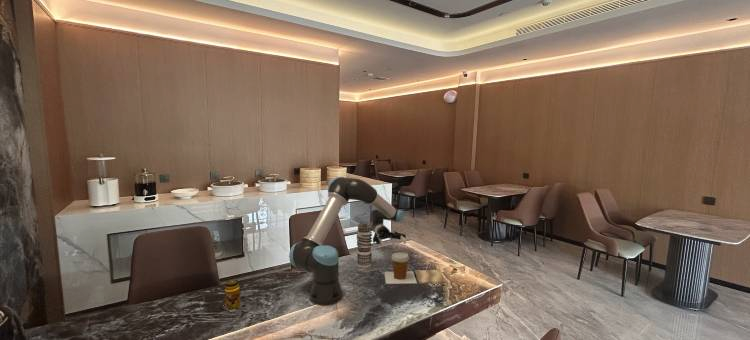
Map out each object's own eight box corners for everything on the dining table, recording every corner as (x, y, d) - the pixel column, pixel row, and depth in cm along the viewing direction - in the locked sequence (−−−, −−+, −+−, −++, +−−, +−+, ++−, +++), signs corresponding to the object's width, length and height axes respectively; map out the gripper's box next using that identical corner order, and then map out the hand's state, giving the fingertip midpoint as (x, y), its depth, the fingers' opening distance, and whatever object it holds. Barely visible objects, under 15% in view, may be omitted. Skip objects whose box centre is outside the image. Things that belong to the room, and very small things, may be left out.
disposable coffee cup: (388, 274, 172) (388, 253, 171) (404, 272, 175) (404, 251, 173) (394, 282, 163) (395, 259, 162) (411, 279, 166) (412, 257, 164)
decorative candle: (375, 263, 188) (375, 222, 185) (366, 269, 180) (366, 226, 177) (362, 260, 192) (362, 220, 190) (353, 265, 185) (353, 224, 182)
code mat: (386, 284, 162) (386, 283, 162) (384, 272, 176) (384, 271, 176) (417, 283, 162) (417, 282, 162) (412, 271, 176) (412, 271, 176)
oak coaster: (418, 283, 162) (418, 281, 162) (414, 271, 176) (414, 270, 176) (445, 282, 163) (445, 281, 163) (439, 271, 177) (439, 269, 176)
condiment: (231, 313, 135) (229, 286, 134) (218, 308, 139) (217, 282, 138) (245, 305, 142) (244, 280, 140) (233, 300, 146) (232, 275, 144)
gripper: (400, 235, 201) (414, 246, 181) (363, 239, 194) (372, 252, 174) (400, 224, 200) (414, 234, 180) (362, 227, 193) (372, 238, 173)
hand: (394, 243), depth 177 cm, fingers open, 13 cm apart
